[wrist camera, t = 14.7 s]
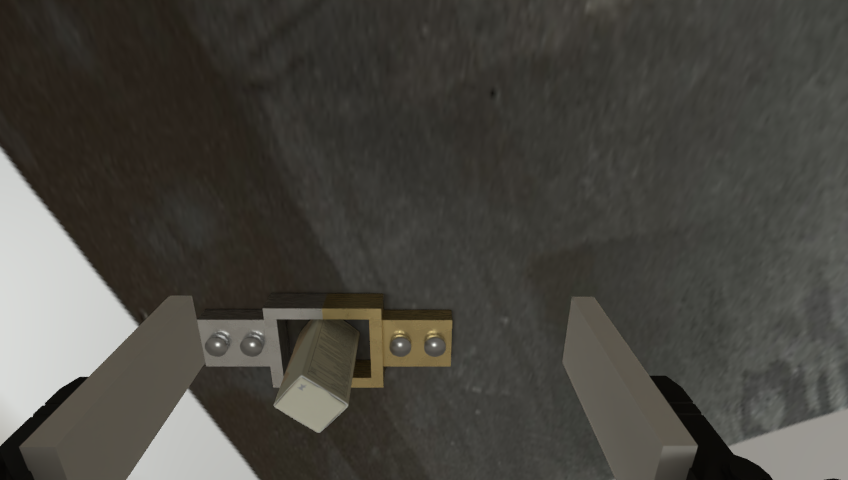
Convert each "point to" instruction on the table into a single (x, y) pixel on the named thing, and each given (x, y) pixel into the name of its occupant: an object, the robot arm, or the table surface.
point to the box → (319, 373)
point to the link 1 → (256, 332)
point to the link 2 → (393, 335)
